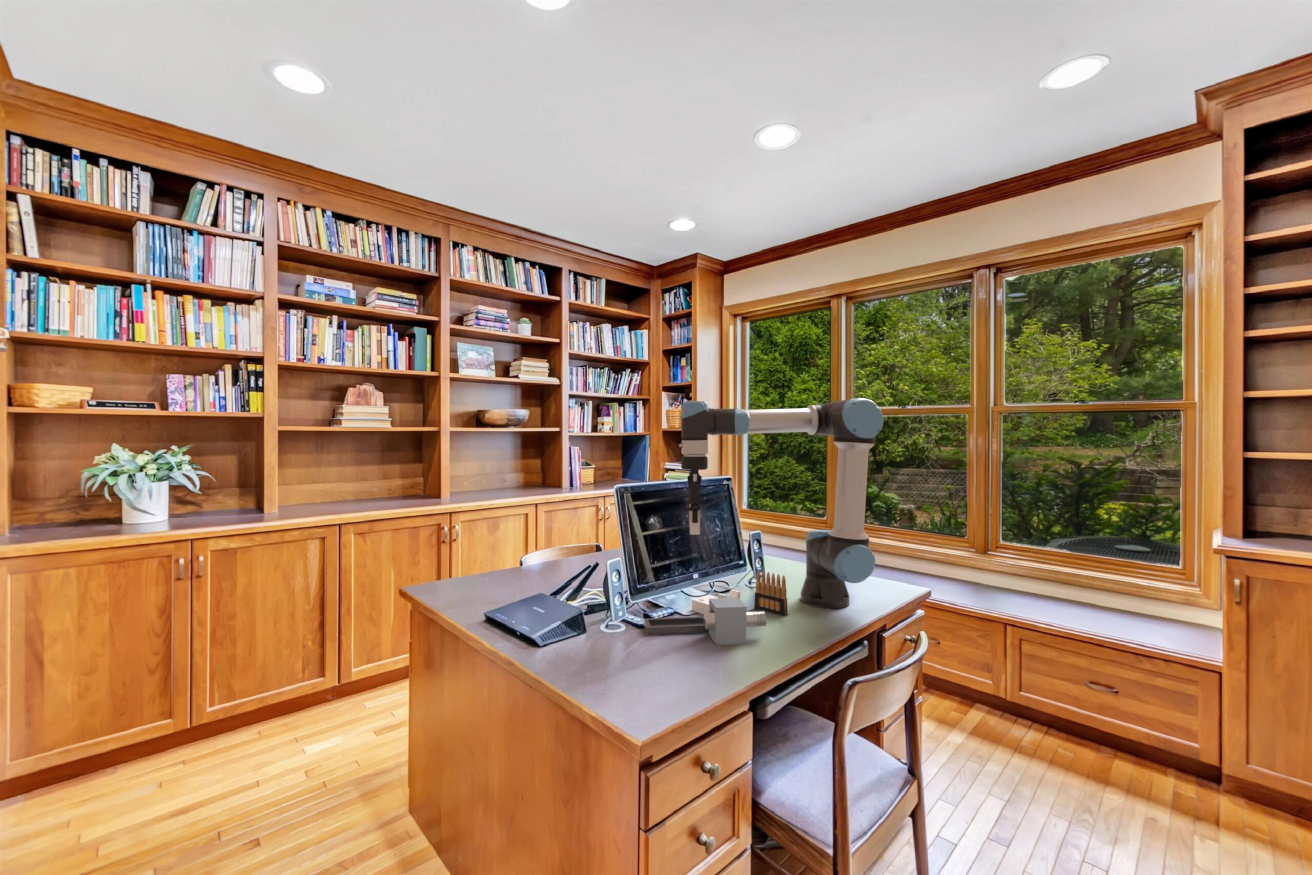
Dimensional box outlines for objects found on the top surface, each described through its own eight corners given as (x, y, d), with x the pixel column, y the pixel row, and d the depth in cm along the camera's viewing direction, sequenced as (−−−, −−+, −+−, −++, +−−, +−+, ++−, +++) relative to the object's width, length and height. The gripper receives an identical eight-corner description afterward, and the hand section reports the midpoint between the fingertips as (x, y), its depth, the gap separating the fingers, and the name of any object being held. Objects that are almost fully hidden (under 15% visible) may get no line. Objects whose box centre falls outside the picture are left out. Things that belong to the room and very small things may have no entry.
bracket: (740, 616, 163) (740, 591, 163) (724, 621, 159) (724, 595, 159) (707, 606, 173) (707, 582, 173) (691, 611, 168) (692, 586, 168)
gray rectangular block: (737, 632, 149) (737, 597, 149) (746, 643, 141) (746, 606, 141) (708, 633, 148) (709, 598, 148) (716, 644, 140) (716, 607, 140)
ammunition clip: (753, 608, 170) (754, 569, 170) (757, 607, 172) (757, 568, 172) (784, 616, 163) (784, 576, 163) (787, 615, 164) (788, 575, 164)
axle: (761, 623, 148) (761, 609, 148) (766, 628, 144) (766, 613, 144) (703, 625, 146) (703, 611, 146) (706, 630, 142) (706, 615, 142)
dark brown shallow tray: (717, 622, 157) (717, 615, 157) (724, 631, 150) (724, 624, 150) (644, 625, 154) (644, 618, 154) (647, 634, 147) (647, 627, 147)
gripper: (681, 453, 169) (681, 522, 169) (681, 457, 144) (680, 538, 144) (705, 454, 169) (705, 523, 169) (709, 457, 144) (709, 538, 144)
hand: (694, 530), depth 157 cm, fingers open, 13 cm apart
